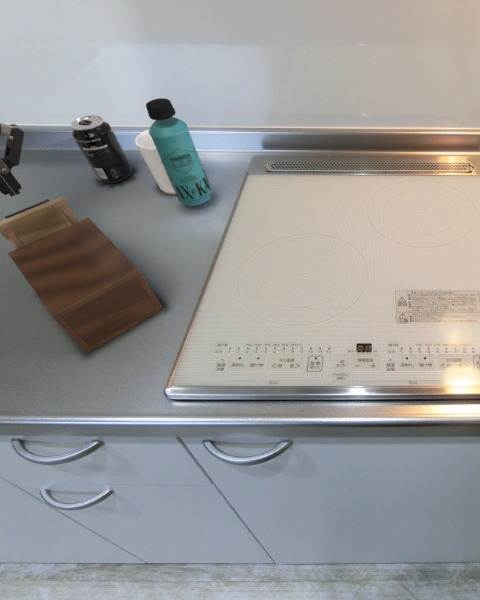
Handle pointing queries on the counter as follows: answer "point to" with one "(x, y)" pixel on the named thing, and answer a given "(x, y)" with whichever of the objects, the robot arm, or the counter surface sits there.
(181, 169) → the beverage bottle
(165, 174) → the mug
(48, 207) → the drawer
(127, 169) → the beverage can
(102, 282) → the cabinet
